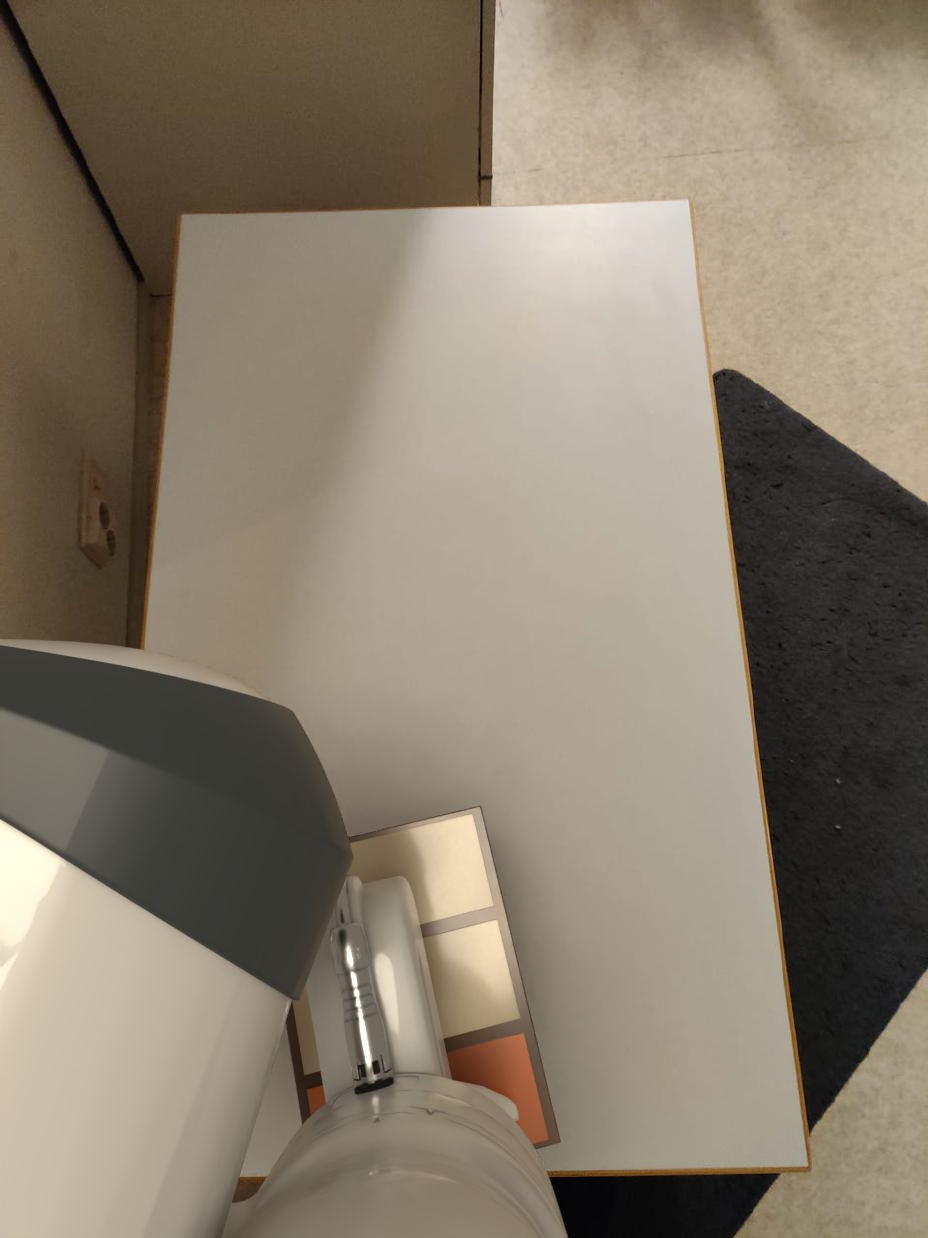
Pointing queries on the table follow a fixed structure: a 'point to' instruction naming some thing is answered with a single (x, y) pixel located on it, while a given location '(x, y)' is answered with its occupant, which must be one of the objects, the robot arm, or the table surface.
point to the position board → (452, 965)
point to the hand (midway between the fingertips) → (423, 1124)
